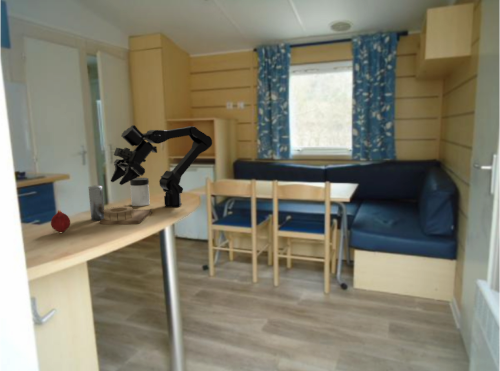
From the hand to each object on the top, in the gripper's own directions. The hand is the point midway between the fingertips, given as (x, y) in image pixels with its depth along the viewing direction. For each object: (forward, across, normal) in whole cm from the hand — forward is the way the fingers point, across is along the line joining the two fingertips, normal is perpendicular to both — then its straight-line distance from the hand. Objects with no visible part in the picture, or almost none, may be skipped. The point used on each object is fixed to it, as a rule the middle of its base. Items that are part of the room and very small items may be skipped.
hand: (115, 182), depth 142 cm
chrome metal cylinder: (+15, 0, +4) cm, 16 cm away
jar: (-2, -14, +21) cm, 25 cm away
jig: (+8, +6, +10) cm, 15 cm away
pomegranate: (+26, +10, -7) cm, 29 cm away
